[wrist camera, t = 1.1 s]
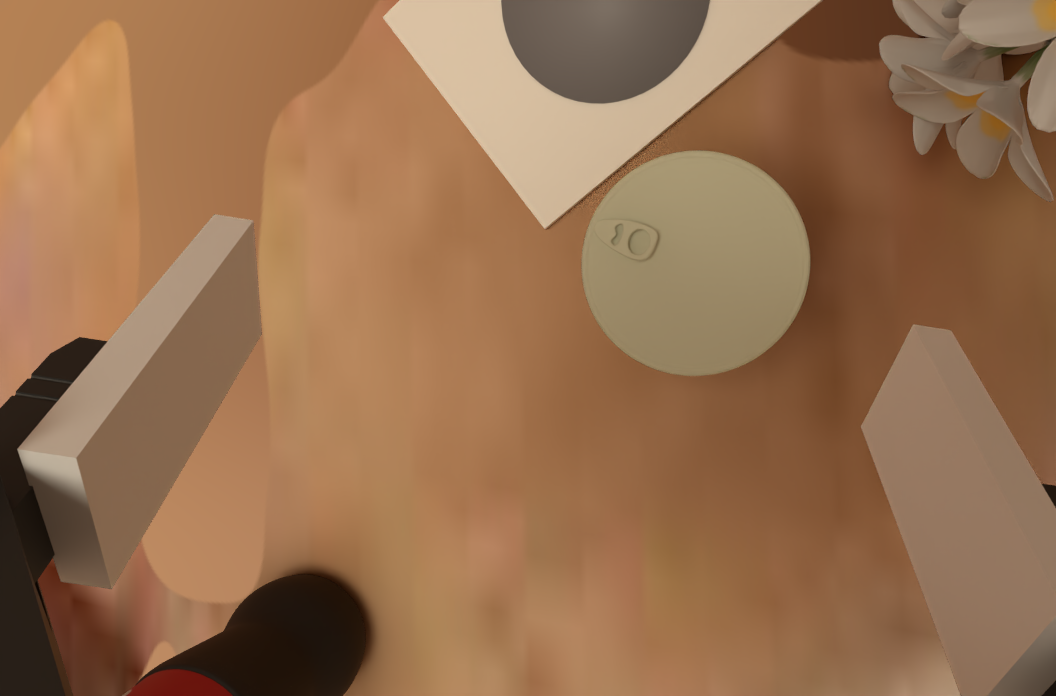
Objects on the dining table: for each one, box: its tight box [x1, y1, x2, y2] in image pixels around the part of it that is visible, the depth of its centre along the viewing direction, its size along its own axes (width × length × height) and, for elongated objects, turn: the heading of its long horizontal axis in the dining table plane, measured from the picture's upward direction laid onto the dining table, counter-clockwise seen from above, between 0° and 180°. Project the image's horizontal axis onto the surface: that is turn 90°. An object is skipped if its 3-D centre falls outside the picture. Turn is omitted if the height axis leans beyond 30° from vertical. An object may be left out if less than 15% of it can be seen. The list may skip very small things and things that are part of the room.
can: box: [581, 150, 810, 376], centre depth 38 cm, size 9×9×12 cm
